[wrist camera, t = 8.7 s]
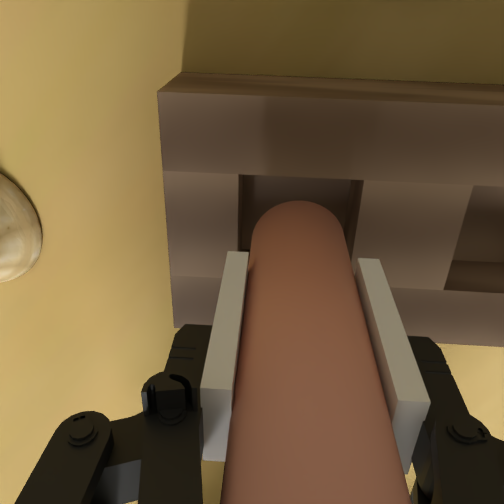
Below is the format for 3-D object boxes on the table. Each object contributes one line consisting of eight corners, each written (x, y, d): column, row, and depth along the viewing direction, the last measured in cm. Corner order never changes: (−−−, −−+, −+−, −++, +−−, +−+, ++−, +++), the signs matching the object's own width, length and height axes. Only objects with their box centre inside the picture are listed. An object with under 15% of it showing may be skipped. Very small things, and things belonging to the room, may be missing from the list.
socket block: (549, 296, 28) (599, 352, 23) (190, 276, 28) (173, 327, 24) (639, 90, 22) (727, 115, 17) (180, 72, 23) (156, 91, 18)
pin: (338, 283, 21) (417, 699, 9) (250, 278, 21) (206, 681, 9) (350, 203, 19) (476, 597, 7) (252, 198, 19) (201, 575, 7)
